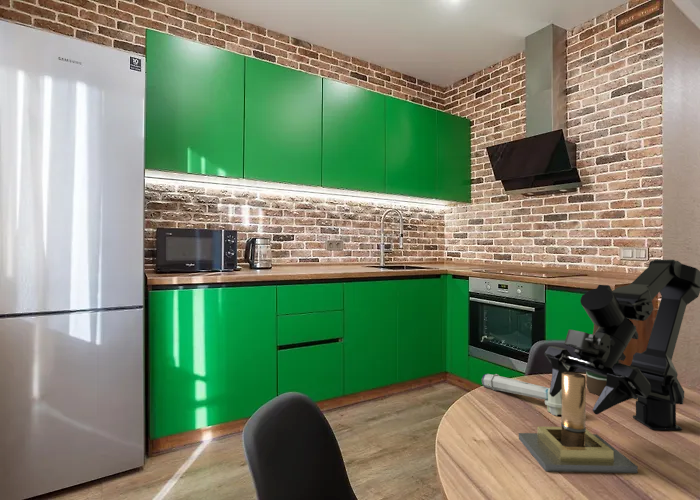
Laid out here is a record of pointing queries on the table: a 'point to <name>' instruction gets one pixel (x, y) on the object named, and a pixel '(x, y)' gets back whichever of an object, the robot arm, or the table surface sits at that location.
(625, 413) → the table surface
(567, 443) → the tube
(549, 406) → the light grey long piece
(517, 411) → the table surface
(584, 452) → the framed base plate
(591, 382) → the beer bottle
